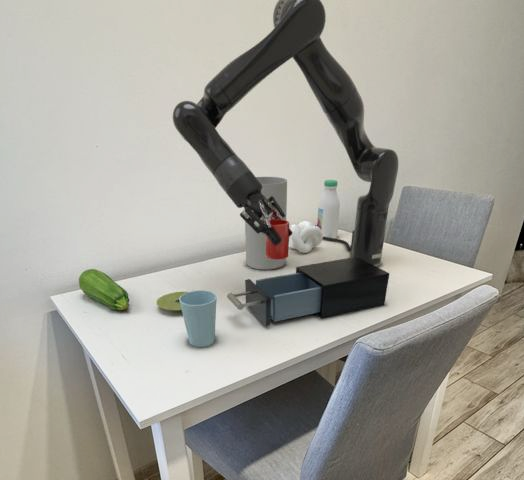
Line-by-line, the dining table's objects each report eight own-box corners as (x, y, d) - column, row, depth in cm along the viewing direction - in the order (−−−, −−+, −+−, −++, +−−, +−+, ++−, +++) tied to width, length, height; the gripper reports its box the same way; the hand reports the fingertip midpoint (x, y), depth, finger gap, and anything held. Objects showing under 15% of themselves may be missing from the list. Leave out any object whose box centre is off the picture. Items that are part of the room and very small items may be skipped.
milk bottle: (339, 235, 161) (344, 179, 150) (333, 241, 155) (338, 183, 144) (320, 233, 163) (323, 178, 153) (313, 238, 157) (317, 181, 147)
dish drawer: (242, 331, 94) (241, 303, 91) (224, 309, 104) (222, 283, 100) (331, 312, 102) (334, 286, 99) (306, 293, 112) (308, 269, 108)
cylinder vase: (261, 254, 142) (260, 175, 129) (292, 262, 136) (295, 179, 123) (238, 265, 133) (234, 181, 120) (270, 273, 127) (270, 185, 114)
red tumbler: (262, 253, 103) (262, 220, 99) (282, 251, 105) (282, 218, 100) (271, 260, 98) (271, 226, 94) (292, 257, 100) (293, 223, 96)
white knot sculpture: (310, 257, 139) (311, 230, 134) (278, 251, 144) (279, 225, 140) (325, 248, 147) (327, 222, 142) (295, 243, 153) (295, 218, 148)
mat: (153, 302, 110) (152, 295, 109) (195, 295, 114) (194, 288, 113) (162, 320, 101) (161, 313, 100) (207, 311, 105) (207, 304, 104)
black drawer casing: (321, 319, 101) (323, 285, 97) (294, 297, 112) (296, 266, 107) (384, 305, 108) (389, 273, 103) (353, 286, 118) (357, 256, 114)
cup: (177, 339, 93) (172, 296, 87) (206, 329, 97) (203, 287, 92) (196, 353, 88) (191, 308, 83) (226, 341, 92) (223, 298, 87)
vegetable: (89, 260, 113) (127, 281, 101) (105, 279, 118) (143, 301, 106) (68, 278, 111) (104, 302, 98) (85, 297, 116) (122, 321, 104)
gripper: (231, 174, 89) (282, 237, 91) (262, 165, 100) (306, 222, 102) (212, 198, 94) (260, 258, 96) (243, 187, 105) (286, 241, 107)
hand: (284, 239), depth 99 cm, fingers closed on red tumbler, 5 cm apart
